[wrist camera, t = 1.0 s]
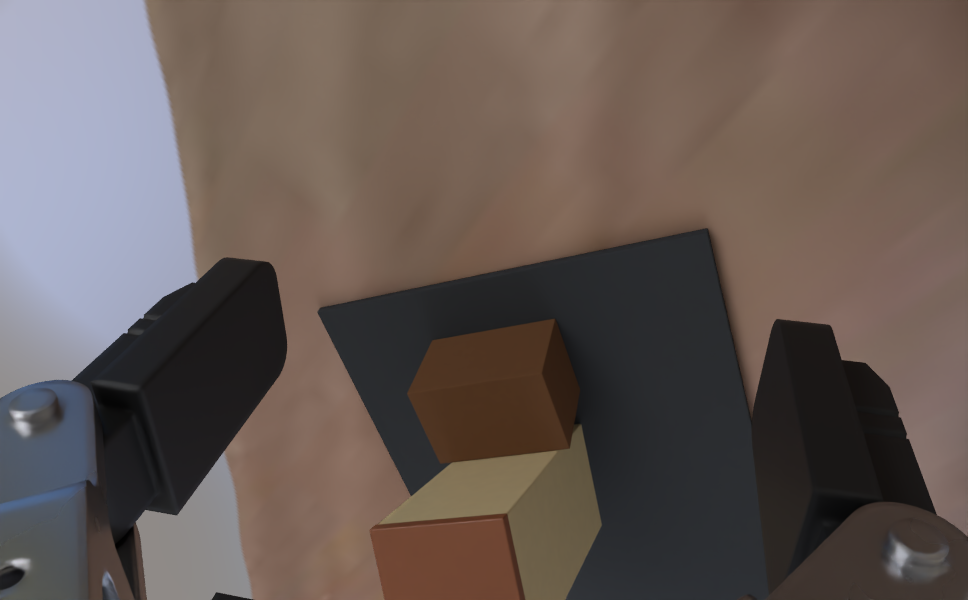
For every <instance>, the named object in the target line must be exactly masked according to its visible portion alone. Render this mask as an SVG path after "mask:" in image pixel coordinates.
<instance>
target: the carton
mask: <svg viewBox="0 0 968 600" xmlns="http://www.w3.org/2000/svg"><path fill="white" fill-rule="evenodd" d="M601 526H602V523H601V518H600V513H599V509H598V504H597V499H596V494H595V489H594V484H593V479H592V474H591V470H590V465H589V460H588V455H587V450H586V445H585V440H584V436H583V431H582V426H581V424H574V428H573V434H572V439H571V445H570V449H564V450H555V451H547V452H538V453H529V454H521V455H512V456H503V457H495V458H486V459H477V460H469V461H460V462H452V463H451V464H450V465H448V466H447V467H446V468H445V469H444V470H442V471H441V472H440V473H439V474H438V475H436V476H435V477H434V478H433V479H432V480H430V481H429V482H428V483H427V484H426V485H424V486H423V487H422V488H421V489H420V490H418V491H417V492H416V493H415V494H414V495H412V496H411V497H410V498H409V499H408V500H406V501H405V502H404V503H403V504H402V505H400V506H399V507H398V508H397V509H396V510H394V511H393V512H392V513H391V514H390V515H388V516H387V517H386V518H385V519H384V520H382V521H381V522H380V523H379V524H377V525H375V526H374V527H372V528H371V529H370V535H371V539H372V544H373V549H374V553H375V558H376V562H377V567H378V571H379V576H380V580H381V585H382V590H383V594H384V599H385V600H565V599H566V597H567V595H568V593H569V591H570V589H571V587H572V585H573V583H574V581H575V579H576V577H577V575H578V573H579V571H580V569H581V566H582V564H583V562H584V560H585V558H586V556H587V554H588V552H589V550H590V548H591V546H592V544H593V542H594V540H595V538H596V536H597V534H598V532H599V530H600V528H601Z"/></svg>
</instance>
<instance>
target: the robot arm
mask: <svg viewBox="0 0 968 600" xmlns="http://www.w3.org/2000/svg"><path fill="white" fill-rule="evenodd" d="M286 354H287V337H286V331H285V325H284V319H283V313H282V307H281V300H280V294H279V288H278V282H277V276H276V272H275V270H274V268H273V266H272V265H271V264H270V263H269V262H264V261H254V260H245V259H236V258H223V259H221V260H220V261H218V262H217V263H216V264H215V265H214V266H213V267H212V268H211V269H210V270H209V271H208V272H207V273H206V274H205V275H204V276H203V277H201V278H200V279H199V280H198V281H197V282H196V283H191V284H189V285H186V286H184V287H182V288H180V289H179V290H176V291H174V292H172V293H171V294H169V295H167V296H165V297H163V298H162V299H161V300H160V301H159V302H158V303H157V304H155V305H154V306H153V307H152V308H151V309H150V310H149V311H148V312H147V313H146V314H144V318H143V319H139V320H138V321H137V322H136V323H135V324H134V325H132V326H131V327H130V328H129V329H128V333H127V334H126V333H124V334H122V335H121V336H120V337H119V338H118V339H117V340H116V341H115V342H114V343H112V344H111V345H110V346H109V347H108V348H107V349H106V350H105V351H104V352H103V353H102V354H101V355H99V356H98V357H97V358H96V359H95V360H94V361H93V362H92V363H91V364H89V365H88V366H87V367H86V368H85V369H84V370H83V371H82V372H81V373H80V374H78V375H77V376H76V377H75V378H74V379H73V380H72V381H68V380H52V381H45V382H39V383H35V384H31V385H28V386H25V387H22V388H20V389H17V390H15V391H13V392H11V393H9V394H7V395H5V396H4V397H2V398H0V600H147V597H146V588H145V578H144V569H143V559H142V550H141V541H140V535H139V531H138V528H137V525H136V521H137V520H138V518H139V517H140V516H141V514H142V513H143V512H144V511H145V510H149V511H155V512H161V513H167V514H172V515H177V514H178V513H179V512H180V510H181V509H182V508H183V506H184V505H185V504H186V502H187V501H188V499H189V498H190V497H191V496H192V494H193V493H194V491H195V490H196V489H197V487H198V486H199V485H200V483H201V482H202V481H203V479H204V478H205V476H206V475H207V474H208V472H209V471H210V470H211V468H212V467H213V466H214V464H215V462H216V461H217V460H218V459H219V457H220V456H221V455H222V453H223V452H224V450H225V449H226V448H227V446H228V445H229V444H230V442H231V441H232V440H233V438H234V437H235V435H236V434H237V433H238V431H239V430H240V429H241V427H242V426H243V425H244V423H245V422H246V420H247V419H248V418H249V416H250V415H251V414H252V412H253V411H254V409H255V408H256V407H257V405H258V404H259V403H260V401H261V400H262V399H263V397H264V396H265V394H266V393H267V392H268V390H269V389H270V388H271V386H272V385H273V384H274V382H275V381H276V379H277V378H278V377H279V375H280V373H281V371H282V369H283V366H284V363H285V359H286ZM898 415H899V411H898V409H897V406H896V403H895V401H894V398H893V395H892V392H891V390H890V387H889V386H888V385H887V384H886V383H885V382H884V381H883V380H882V379H881V378H880V377H879V376H878V375H877V374H876V373H875V372H874V371H873V370H872V369H871V368H870V367H869V366H868V365H867V364H866V363H862V362H853V361H844V360H841V356H840V353H839V350H838V346H837V343H836V340H835V336H834V333H833V330H832V327H831V326H830V325H826V324H817V323H808V322H799V321H790V320H781V319H777V320H776V321H775V322H774V324H773V327H772V330H771V334H770V338H769V342H768V347H767V351H766V355H765V360H764V364H763V368H762V373H761V377H760V381H759V385H758V390H757V394H756V398H755V403H754V409H753V417H752V449H753V457H754V466H755V475H756V484H757V493H758V502H759V510H760V519H761V528H762V537H763V546H764V555H765V563H766V572H767V581H768V590H769V596H768V597H767V598H766V599H765V600H968V537H967V536H966V535H965V534H964V533H963V532H962V531H960V530H959V529H958V528H957V527H955V526H954V525H953V524H951V523H950V522H948V521H946V520H945V519H943V518H941V517H939V516H937V514H936V512H935V509H934V506H933V503H932V501H931V498H930V495H929V493H928V490H927V487H926V484H925V482H924V479H923V476H922V474H921V471H920V468H919V466H918V463H917V460H916V457H915V455H914V452H913V449H912V447H911V444H910V441H909V439H906V435H907V433H906V430H905V428H904V425H903V422H902V420H901V418H899V417H898ZM212 600H253V599H247V598H242V597H237V596H232V595H227V594H222V593H216V594H215V595H214V597H213V599H212ZM737 600H758V599H757V598H756V597H754V596H753V595H751V594H747V595H744V596H742V597H740V598H739V599H737Z"/></svg>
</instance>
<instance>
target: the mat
mask: <svg viewBox="0 0 968 600" xmlns="http://www.w3.org/2000/svg"><path fill="white" fill-rule="evenodd" d="M318 314H319V316H320V318H321V320H322V322H323V324H324V326H325V328H326V330H327V332H328V334H329V336H330V338H331V340H332V342H333V344H334V346H335V348H336V350H337V352H338V354H339V356H340V357H341V359H342V361H343V363H344V365H345V367H346V369H347V371H348V373H349V375H350V377H351V379H352V381H353V383H354V385H355V387H356V389H357V391H358V393H359V395H360V397H361V399H362V401H363V403H364V405H365V407H366V408H367V410H368V412H369V414H370V416H371V418H372V420H373V422H374V424H375V426H376V428H377V430H378V432H379V434H380V436H381V438H382V440H383V442H384V444H385V446H386V448H387V450H388V452H389V454H390V456H391V458H392V459H393V461H394V463H395V465H396V467H397V469H398V471H399V473H400V475H401V477H402V479H403V481H404V483H405V485H406V487H407V489H408V491H409V493H410V495H411V496H412V495H414V494H415V493H416V492H417V491H418V490H420V489H421V488H422V487H423V486H424V485H426V484H427V483H428V482H429V481H430V480H432V479H433V478H434V477H435V476H436V475H438V474H439V473H440V472H441V471H442V470H444V469H445V468H446V467H447V466H448V465H450V464H451V463H452V462H460V461H469V460H477V459H486V458H495V457H503V456H512V455H521V454H529V453H538V452H547V451H555V450H564V449H570V445H571V439H572V434H573V428H574V424H581V426H582V431H583V436H584V440H585V445H586V450H587V455H588V460H589V465H590V470H591V474H592V479H593V484H594V489H595V494H596V499H597V504H598V509H599V513H600V518H601V523H602V526H601V528H600V530H599V532H598V534H597V536H596V538H595V540H594V542H593V544H592V546H591V548H590V550H589V552H588V554H587V556H586V558H585V560H584V562H583V564H582V566H581V569H580V571H579V573H578V575H577V577H576V579H575V581H574V583H573V585H572V587H571V589H570V591H569V593H568V595H567V597H566V599H565V600H737V599H739V598H740V597H742V596H744V595H747V594H751V595H753V596H754V597H756V598H757V599H758V600H765V599H766V598H767V597H768V596H769V590H768V581H767V572H766V563H765V555H764V546H763V537H762V528H761V519H760V510H759V502H758V493H757V484H756V475H755V466H754V457H753V449H752V421H751V417H750V412H749V408H748V403H747V399H746V395H745V390H744V386H743V381H742V377H741V373H740V368H739V364H738V360H737V355H736V351H735V346H734V342H733V338H732V333H731V329H730V324H729V320H728V316H727V311H726V307H725V302H724V298H723V294H722V289H721V285H720V280H719V276H718V272H717V267H716V263H715V258H714V254H713V250H712V245H711V241H710V237H709V232H708V229H702V230H697V231H692V232H687V233H682V234H677V235H672V236H668V237H663V238H658V239H653V240H648V241H643V242H638V243H633V244H629V245H624V246H619V247H614V248H609V249H604V250H599V251H595V252H590V253H585V254H580V255H575V256H570V257H565V258H561V259H556V260H551V261H546V262H541V263H536V264H531V265H526V266H522V267H517V268H512V269H507V270H502V271H497V272H492V273H488V274H483V275H478V276H473V277H468V278H463V279H458V280H454V281H449V282H444V283H439V284H434V285H429V286H424V287H419V288H415V289H410V290H405V291H400V292H395V293H390V294H385V295H381V296H376V297H371V298H366V299H361V300H356V301H351V302H347V303H342V304H337V305H332V306H327V307H322V308H320V309H319V310H318Z"/></svg>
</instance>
